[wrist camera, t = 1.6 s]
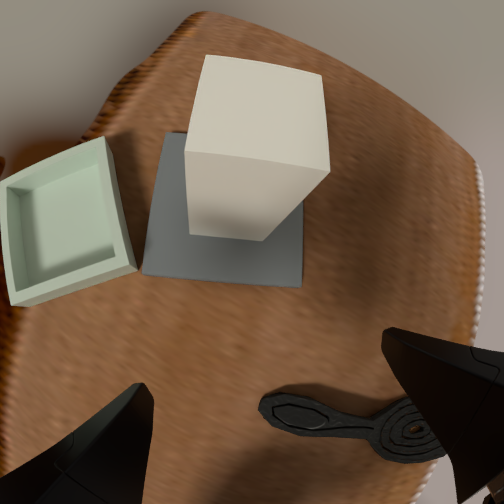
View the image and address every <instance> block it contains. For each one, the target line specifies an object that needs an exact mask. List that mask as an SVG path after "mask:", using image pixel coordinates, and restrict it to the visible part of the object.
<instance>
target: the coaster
mask: <svg viewBox="0 0 504 504" xmlns="http://www.w3.org/2000/svg"><path fill="white" fill-rule="evenodd" d="M186 139H187V134H183V133H170V132H166V135H165V139H164V143H163V148H162V152H161V157H160V161H159V166H158V171H157V176H156V181H155V186H154V192H153V197H152V203H151V209H150V215H149V222H148V228H147V235H146V243H145V250H144V258H143V267H142V274H143V275H147V276H157V277H167V278H177V279H188V280H199V281H210V282H222V283H234V284H247V285H261V286H275V287H290V288H299V287H302V258H303V200H302V201H301V202H300V203H299V204H298V205H297V206H296V207H295V209H294V210H293V211H292V212H291V213H290V214H289V215H288V216H287V217H286V218H285V219H284V220H283V221H282V222H281V223H280V224H279V225H278V226H277V227H276V228H275V229H274V230H273V231H272V232H271V233H270V234H269V235H268V236H267V237H266V238H265V239H264V240H263V241H254V240H244V239H234V238H223V237H213V236H203V235H192V234H190V233H189V220H188V207H187V193H186V176H185V155H184V150H185V144H186Z"/></svg>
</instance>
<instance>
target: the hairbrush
mask: <svg viewBox="0 0 504 504" xmlns="http://www.w3.org/2000/svg"><path fill="white" fill-rule="evenodd" d="M279 393H282V392H279ZM397 401H398V402H396V401H395V402H396V403H395V402H393V403H395V404H393V403H392V404H393V405H392V404H390V405H389V406H387V407H386V408H384V409H383V410H381V411H380V412H378V413H377V414H375V415H373V416H372V417H370V418H365V417H361V416H356V415H352V414H348V413H344V412H340V411H338V410H336V409H333V408H331V407H329V406H327V405H325V404H323V403H321V402H318V401H316V400H314V399H312V398H310V397H307V396H300V395H294V394H289V393H284V394H278V393H275V394H272V395H269V396H266V397H264V398H262V399H261V400H260V404H259V408H258V411H259V412H260V413H261V414H262V415H263V418H264V419H266V420H267V421H268V422H269V423H270V425H271V426H273V427H276V428H278V429H281V430H284V431H287V432H290V433H293V434H296V435H299V436H309V437H341V438H357V439H366V440H367V441H369V443H370V445H371V446H372V448H373V449H374V450H375V451H376V452H377V453H378V454H379V455H380V456H381V457H382V458H384V459H385V460H390V461H394V462H399V463H404V464H408V463H422V462H426V461H430V460H433V459H437V458H440V457H443V456H445V455H446V454H447V453H446V452H445V450H444V449H443V447H442V445H441V444H440V442H439V441H438V439H437V438H436V436H435V435H434V433H433V432H432V430H431V429H430V427H429V426H428V424H427V423H426V421H425V420H423V419H424V418H423V417H422V415H421V414H420V412H416V411H418V409H417V408H416V406H415V405H414V404H411V403H413V402H412V401H411V399H410V398H409V396H408V397H405V398H403V399H400V401H399V400H397ZM295 404H296V405H295ZM276 405H277V406H276ZM272 406H273V409H274V411H273V412H274V414H275V415H276V416H277V417H278V418H277V417H276V416H275V415H273V414H272ZM274 406H275V407H274ZM315 409H317V410H318V411H320V412H322V413H323V414H325V415H326V417H325V416H324V415H322V414H321V413H320V412H318V411H316V410H315ZM279 418H280V419H281V420H282V421H281V420H280V419H279ZM420 418H422V419H420ZM417 419H419V420H417ZM283 421H284V422H285V423H284V422H283ZM416 425H418V426H422V428H420V431H419V430H418V431H417V432H414V433H413V432H412V433H410V432H409V430H411V429H410V428H412V427H414V426H415V427H417V426H416ZM401 435H403V436H406V437H410V439H406V438H403V437H401ZM418 437H419V438H418ZM389 438H390V439H391V440H392V441H393V442H394V443H396V444H403V445H410V446H400V445H395V444H393V443H392V442H391V441H390V440H389ZM411 438H412V439H411ZM380 443H381V444H380ZM381 445H382V446H381ZM383 446H384V447H386V448H387V449H389V450H391V451H393V452H396V453H402V454H395V453H391V452H389V451H387V450H385V449H383V448H382V447H383ZM403 454H404V455H403Z"/></svg>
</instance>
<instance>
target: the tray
mask: <svg viewBox="0 0 504 504" xmlns="http://www.w3.org/2000/svg"><path fill="white" fill-rule="evenodd" d="M0 222H1V238H2V249H3V259H4V267H5V274H6V280H7V286H8V292H9V297H10V302H11V305H12V306H28V307H31V306H34V305H37V304H40V303H43V302H45V301H48V300H51V299H54V298H57V297H60V296H63V295H66V294H69V293H72V292H75V291H78V290H81V289H84V288H87V287H90V286H93V285H96V284H99V283H102V282H105V281H108V280H111V279H114V278H117V277H120V276H123V275H126V274H129V273H132V272H135V271H138V267H137V264H136V260H135V256H134V253H133V249H132V245H131V241H130V237H129V233H128V229H127V224H126V220H125V216H124V211H123V206H122V202H121V197H120V192H119V187H118V181H117V176H116V170H115V164H114V158H113V154H112V152H111V149H110V147H109V145H108V143H107V141H106V139H105V136H102V137H99V138H97V139H94V140H91V141H88V142H86V143H83V144H81V145H78V146H75V147H73V148H71V149H68V150H66V151H63V152H61V153H58V154H56V155H54V156H52V157H49V158H47V159H45V160H43V161H40V162H38V163H36V164H34V165H32V166H30V167H28V168H26V169H24V170H22V171H20V172H18V173H16V174H14V175H12V176H10V177H8V178H6V179H5V180H3V181H1V182H0Z"/></svg>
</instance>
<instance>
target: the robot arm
mask: <svg viewBox="0 0 504 504" xmlns="http://www.w3.org/2000/svg"><path fill="white" fill-rule="evenodd" d="M381 349H382V352H383V354H384V356H385V358H386V360H387V362H388V364H389V366H390V368H391V369H392V371H393V373H394V375H395V377H396V379H397V380H398V382H399V383H400V385H401V386H402V388H403V389H404V390H405V392H406V393H407V395H408V396H409V398H410V399H411V401H412V402H413V404H414V405H415V406H416V408H417V409H418V411H419V412H420V414H421V415H422V417H423V418H424V420H425V421H426V423H427V424H428V426H429V427H430V429H431V430H432V432H433V433H434V435H435V436H436V438H437V439H438V441H439V442H440V444H441V445H442V447H443V449H444V450H445V452H446V453H447V454H448V456H449V458H450V460H451V463H452V466H453V471H454V478H455V486H456V493H457V503H458V504H462V503H463V502H465V501H466V500H468V499H469V498H471V497H472V496H473V495H475V494H476V493H478V492H479V491H480V490H482V489H483V488H485V487H486V486H487V487H488V489H489V491H490V494H489V495H487V496H486V497H485V498H484V501H483V504H504V352H497V351H491V350H486V349H481V348H476V347H472V346H470V347H469V346H466V345H462V344H458V343H454V342H450V341H446V340H442V339H438V338H433V337H430V336H426V335H422V334H418V333H414V332H410V331H406V330H402V329H398V328H395V327H391V328H388V329H385V330H384V331H383V333H382V343H381ZM153 412H154V399H153V396H152V394H151V393H150V391H149V390H148V388H147V387H146V385H145V384H144V383H134V384H133V385H131V386H130V387H129V388H128V389H126V390H125V391H124V392H123V393H121V394H120V395H119V396H118V397H116V398H115V399H114V400H113V401H111V402H110V403H109V404H108V405H106V406H105V407H104V408H103V409H101V410H100V411H99V412H97V413H96V414H95V415H94V416H92V417H91V418H90V419H89V420H87V421H86V422H85V423H83V424H82V425H81V426H80V427H78V428H77V429H76V430H74V431H73V432H71V433H70V434H69V435H67V436H66V437H65V438H63V439H62V440H61V441H59V442H58V443H57V444H55V445H54V446H52V447H51V448H49V449H47V450H46V451H44V452H43V453H41V454H39V455H38V456H36V457H35V458H33V459H31V460H30V461H28V462H26V463H25V464H23V465H21V466H20V467H18V468H16V469H15V470H13V471H11V472H10V473H8V474H6V475H5V476H3V477H1V478H0V504H142V497H143V489H144V482H145V475H146V469H147V462H148V456H149V450H150V444H151V438H152V431H153Z"/></svg>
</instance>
